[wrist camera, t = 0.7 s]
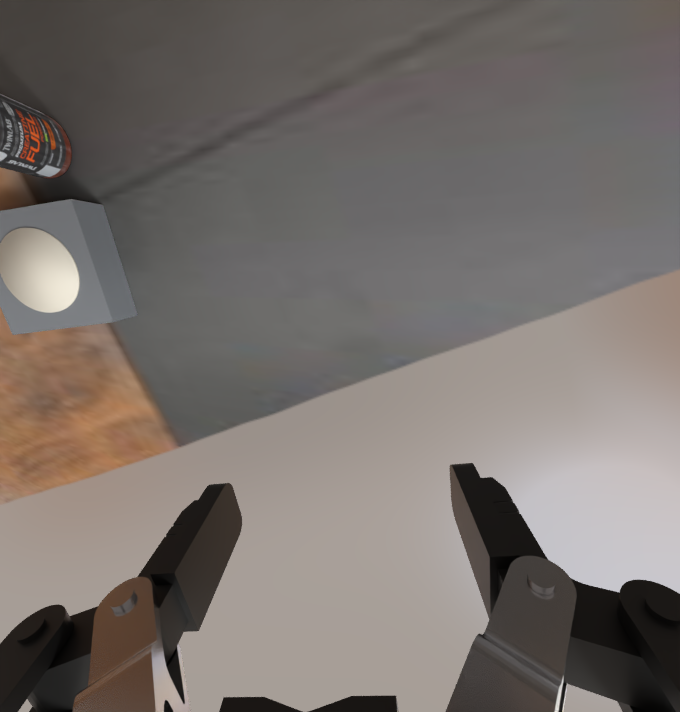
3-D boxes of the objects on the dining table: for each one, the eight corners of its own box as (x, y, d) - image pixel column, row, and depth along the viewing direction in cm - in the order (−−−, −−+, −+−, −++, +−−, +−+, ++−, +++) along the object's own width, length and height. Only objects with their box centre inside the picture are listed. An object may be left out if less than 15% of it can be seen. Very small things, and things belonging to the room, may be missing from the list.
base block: (3, 221, 36) (-42, 217, 32) (102, 204, 35) (69, 198, 31) (46, 326, 39) (10, 335, 35) (137, 315, 38) (111, 322, 34)
